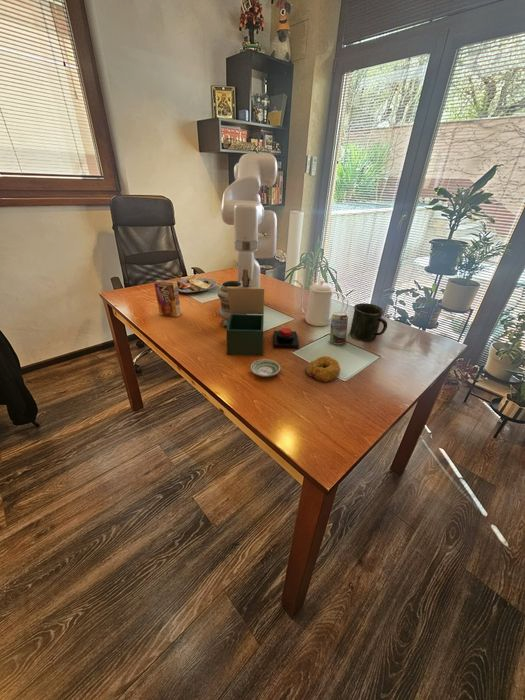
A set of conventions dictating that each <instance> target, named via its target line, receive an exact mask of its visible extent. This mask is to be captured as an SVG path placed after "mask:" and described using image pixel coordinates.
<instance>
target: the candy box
mask: <svg viewBox="0 0 525 700" xmlns="http://www.w3.org/2000/svg"><path fill="white" fill-rule="evenodd" d="M177 281H178V280H163V279H157V280H155V281H154V282H153V284H154V289H155V295H156V301H157V307H158V313H159V316H165V317H176V318H178V317H179V316H180V315H182V310H181V303H180V302H181V301H180V295H179V291H178V286H177Z"/></svg>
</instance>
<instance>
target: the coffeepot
mask: <svg viewBox="0 0 525 700" xmlns="http://www.w3.org/2000/svg"><path fill="white" fill-rule="evenodd" d="M293 282H296V283H298V284H299V285H300V310H301V312H302V313H303V315H304V320H305V322H306V323H307V324H308V325H310V326H313V327H324V326H327V325H329V324H330V323H331V310H332V309H331V308H332V296H333V294H336V295H338V296H339V298H340V299H341V301H342V308H341V311H340V312H343V311H344V312H346V311H347V310H348V307H349V299H348V297H347V296H346V295H345V294H344V293H342V292H340V291H334V290H333V287H332V285H331V284H329V283H328V282H326V280H325V279H320V280H319V281H318V282H317V281H316V282H313V283H312V284H311V285H310V287H309V294H308V298H307V299H308V300H307V305H306V310H304V301H303V300H304V284H303V283H302V281H300V280H298V279H294V280H293ZM343 297H344V298H343ZM344 299H345V300H344ZM345 301H346V308H345V310H344V307H345Z"/></svg>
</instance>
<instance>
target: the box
mask: <svg viewBox="0 0 525 700" xmlns="http://www.w3.org/2000/svg"><path fill="white" fill-rule="evenodd" d="M264 316H265V314H264V315H260V314H247V315H245V314H231V315H230V318H229V322H228V326H227V328H226V330H225V333H226V351H227V354H226V355H228V356H229V355H230V356H263V355H264V324H265V323H264V319H265V317H264Z"/></svg>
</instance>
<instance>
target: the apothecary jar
mask: <svg viewBox="0 0 525 700" xmlns="http://www.w3.org/2000/svg"><path fill="white" fill-rule="evenodd" d="M227 286H228V287H242V283H241V281H240V282H238V281H237V280H226V281H222V283H221V284H220V288H218V290H217V292H216V293H217V297H218V298H219V299H220V307H219V309H218V313H217V314H218V316H219V317H220V318H221V319H222V322H221V326H222V328H226V329H227V326H228V322H229V318H230V315H231V314H230V307H229V300H228V293H227ZM245 315H248V314H245Z"/></svg>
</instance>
